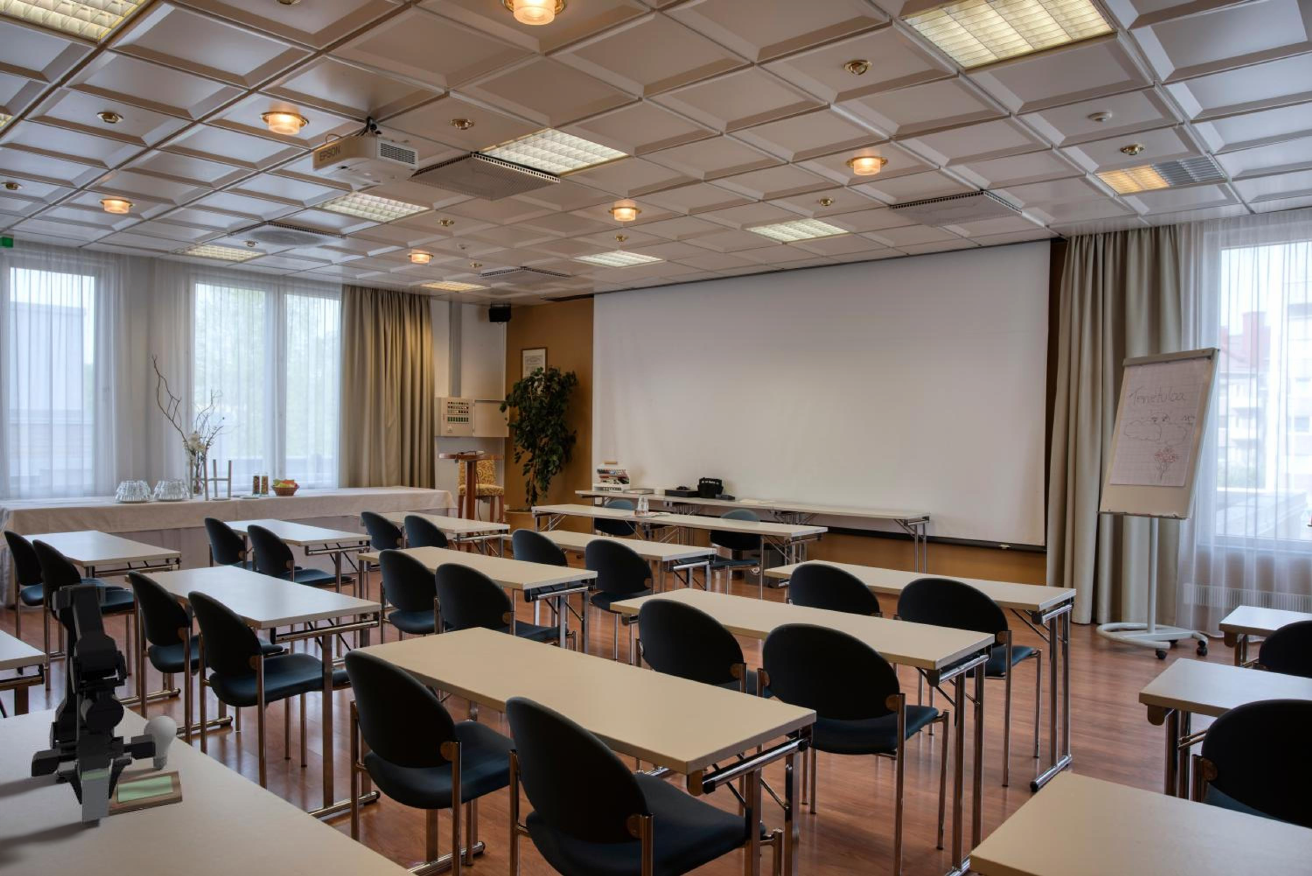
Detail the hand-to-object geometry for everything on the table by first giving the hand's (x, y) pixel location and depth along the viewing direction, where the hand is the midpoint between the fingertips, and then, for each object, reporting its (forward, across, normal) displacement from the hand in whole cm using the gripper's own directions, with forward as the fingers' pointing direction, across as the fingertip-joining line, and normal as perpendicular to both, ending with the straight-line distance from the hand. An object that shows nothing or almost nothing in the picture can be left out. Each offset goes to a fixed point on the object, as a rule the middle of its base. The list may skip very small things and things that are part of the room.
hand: (95, 801), depth 156 cm
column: (+3, 0, 0) cm, 3 cm away
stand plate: (+4, +8, +9) cm, 13 cm away
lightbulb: (+4, +11, +22) cm, 25 cm away
